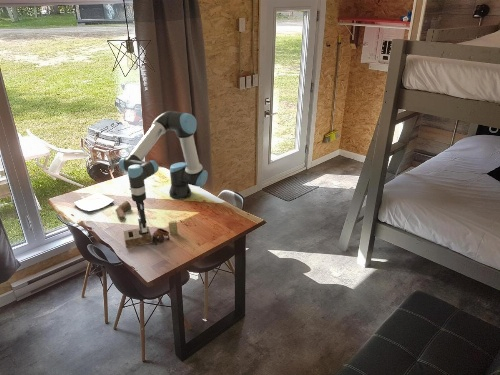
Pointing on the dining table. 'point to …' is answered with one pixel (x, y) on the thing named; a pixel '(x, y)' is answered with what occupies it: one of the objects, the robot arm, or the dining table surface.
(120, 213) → the pipe
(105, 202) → the plate
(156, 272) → the dining table surface
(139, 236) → the socket block
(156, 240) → the pottery mug
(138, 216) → the square steel bit
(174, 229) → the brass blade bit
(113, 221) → the dining table surface
